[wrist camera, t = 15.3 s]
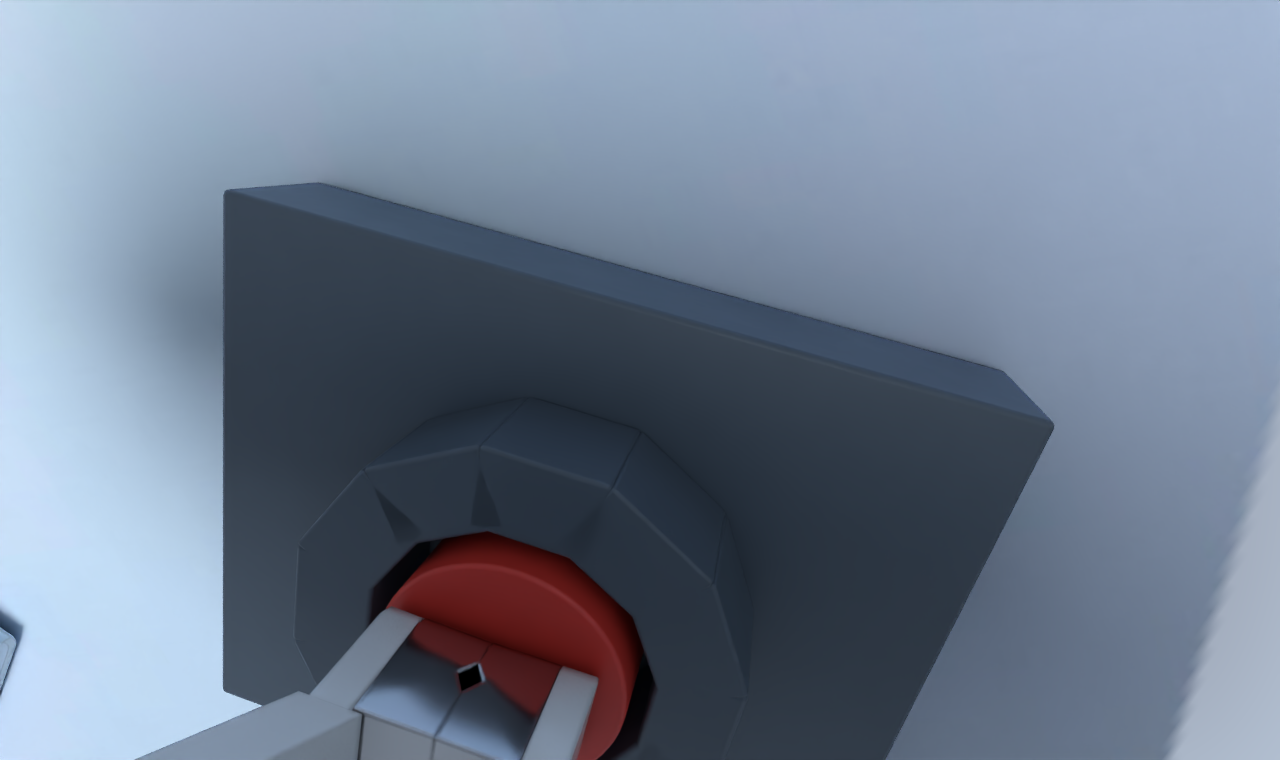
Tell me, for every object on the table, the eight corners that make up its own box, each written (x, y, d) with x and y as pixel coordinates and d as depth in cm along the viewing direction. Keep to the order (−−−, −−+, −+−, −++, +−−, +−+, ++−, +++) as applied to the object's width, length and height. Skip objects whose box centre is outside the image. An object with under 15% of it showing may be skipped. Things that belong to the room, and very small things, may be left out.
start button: (676, 541, 10) (654, 618, 8) (623, 718, 11) (596, 815, 10) (450, 469, 10) (387, 529, 9) (424, 648, 12) (365, 730, 10)
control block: (1006, 371, 11) (1125, 491, 7) (806, 802, 14) (813, 1033, 10) (317, 180, 12) (105, 196, 8) (294, 620, 15) (140, 769, 12)
